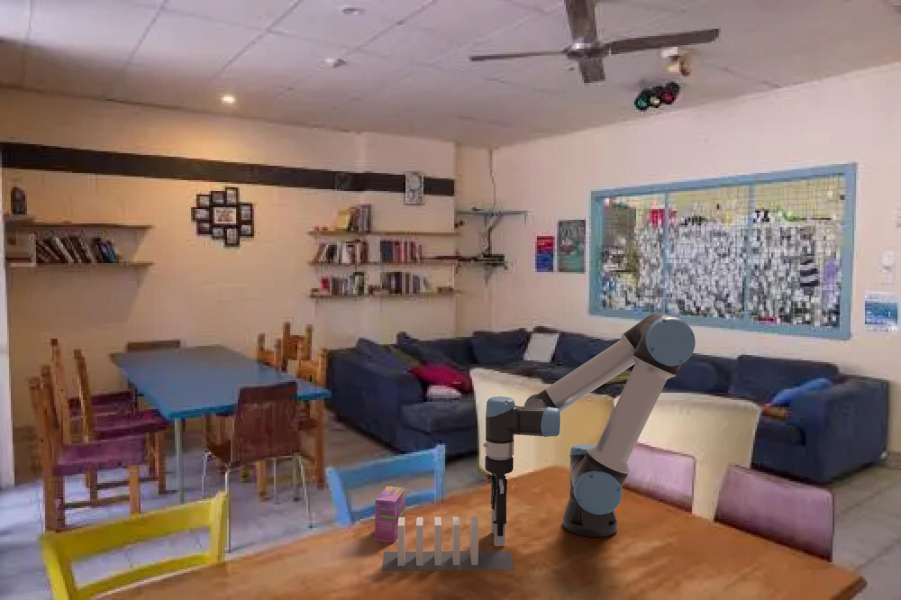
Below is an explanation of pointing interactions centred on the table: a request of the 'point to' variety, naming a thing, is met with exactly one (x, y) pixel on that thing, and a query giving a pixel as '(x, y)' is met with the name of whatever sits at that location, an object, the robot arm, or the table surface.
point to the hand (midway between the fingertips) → (497, 540)
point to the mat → (449, 561)
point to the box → (389, 513)
